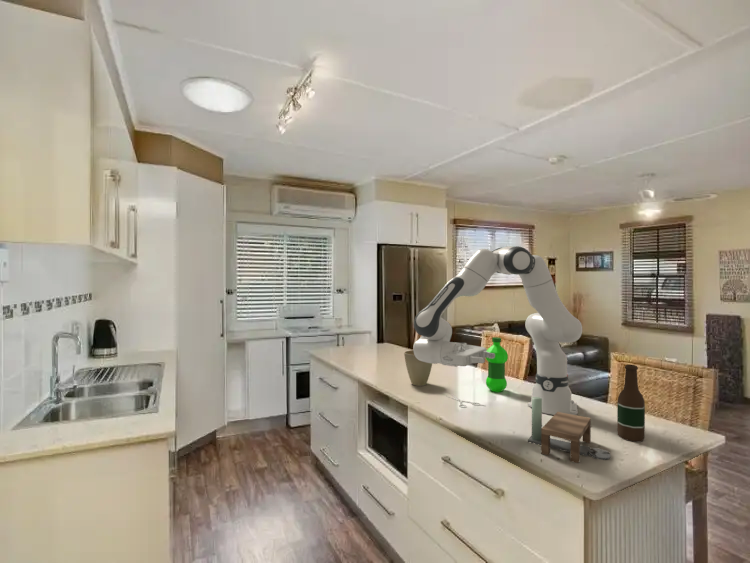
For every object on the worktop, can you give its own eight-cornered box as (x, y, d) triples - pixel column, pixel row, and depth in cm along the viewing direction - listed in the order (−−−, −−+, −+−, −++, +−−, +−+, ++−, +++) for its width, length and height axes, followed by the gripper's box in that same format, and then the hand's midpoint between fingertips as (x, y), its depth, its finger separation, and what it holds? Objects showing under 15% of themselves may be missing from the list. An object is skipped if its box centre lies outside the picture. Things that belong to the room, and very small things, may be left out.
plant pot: (418, 379, 209) (418, 348, 209) (439, 384, 197) (440, 352, 197) (397, 383, 199) (397, 351, 199) (418, 389, 188) (418, 356, 188)
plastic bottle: (482, 387, 192) (482, 336, 192) (503, 387, 192) (503, 336, 193) (488, 393, 182) (489, 339, 182) (511, 393, 182) (511, 339, 183)
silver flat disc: (591, 450, 121) (591, 446, 121) (612, 456, 117) (612, 451, 117) (586, 456, 117) (586, 452, 117) (607, 462, 113) (607, 457, 113)
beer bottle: (614, 431, 136) (615, 362, 136) (641, 435, 133) (641, 364, 133) (619, 440, 129) (620, 366, 129) (647, 443, 126) (648, 368, 126)
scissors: (464, 408, 159) (437, 395, 177) (464, 410, 159) (437, 396, 177) (485, 405, 163) (457, 392, 182) (485, 407, 163) (456, 394, 182)
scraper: (527, 442, 126) (527, 399, 126) (532, 436, 131) (532, 395, 131) (587, 456, 116) (587, 409, 116) (590, 449, 121) (590, 404, 121)
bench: (557, 433, 134) (557, 411, 134) (590, 441, 127) (590, 418, 127) (541, 453, 118) (541, 428, 118) (578, 463, 112) (578, 436, 112)
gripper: (439, 349, 138) (477, 353, 130) (464, 342, 154) (499, 345, 146) (440, 367, 138) (477, 373, 130) (464, 358, 154) (499, 362, 146)
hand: (489, 358), depth 138 cm, fingers open, 8 cm apart
